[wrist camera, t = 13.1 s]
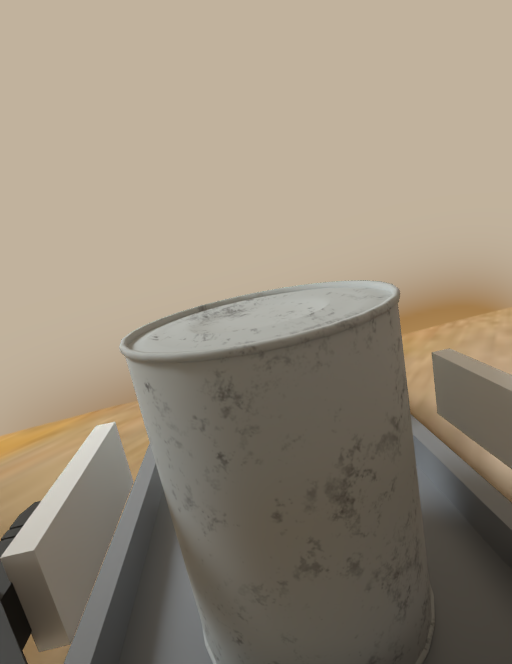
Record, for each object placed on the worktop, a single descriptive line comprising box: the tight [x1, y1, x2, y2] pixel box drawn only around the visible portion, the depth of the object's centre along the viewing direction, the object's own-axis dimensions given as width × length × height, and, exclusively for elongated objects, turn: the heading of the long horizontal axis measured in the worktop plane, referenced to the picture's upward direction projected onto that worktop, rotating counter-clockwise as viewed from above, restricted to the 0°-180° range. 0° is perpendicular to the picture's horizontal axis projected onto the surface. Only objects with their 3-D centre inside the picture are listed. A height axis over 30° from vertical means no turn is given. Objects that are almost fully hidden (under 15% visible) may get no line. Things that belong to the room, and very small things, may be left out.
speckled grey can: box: [119, 280, 435, 664], centre depth 15 cm, size 10×10×12 cm
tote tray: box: [64, 414, 512, 664], centre depth 22 cm, size 26×18×3 cm
